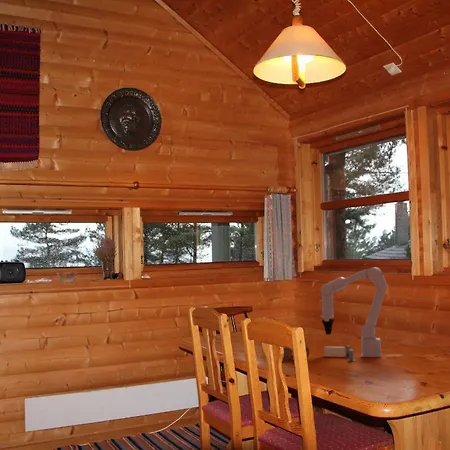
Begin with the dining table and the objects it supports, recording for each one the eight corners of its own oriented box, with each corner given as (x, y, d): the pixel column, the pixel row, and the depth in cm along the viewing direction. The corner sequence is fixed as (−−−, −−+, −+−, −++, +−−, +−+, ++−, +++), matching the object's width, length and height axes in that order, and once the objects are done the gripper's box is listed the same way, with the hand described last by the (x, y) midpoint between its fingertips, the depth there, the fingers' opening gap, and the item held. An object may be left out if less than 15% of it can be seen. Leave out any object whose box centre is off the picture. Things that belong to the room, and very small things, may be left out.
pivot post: (353, 356, 308) (352, 345, 309) (352, 357, 304) (352, 346, 304) (344, 356, 310) (343, 345, 310) (343, 357, 305) (343, 346, 306)
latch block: (355, 359, 299) (354, 349, 300) (354, 361, 294) (354, 350, 295) (348, 359, 300) (348, 349, 300) (347, 361, 295) (347, 350, 295)
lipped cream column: (344, 355, 308) (344, 346, 309) (344, 356, 306) (344, 346, 307) (324, 355, 311) (324, 345, 311) (324, 356, 309) (323, 346, 309)
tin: (278, 360, 304) (278, 342, 304) (281, 358, 307) (280, 341, 307) (308, 361, 297) (307, 344, 297) (310, 360, 300) (309, 343, 300)
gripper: (321, 305, 324) (322, 331, 324) (318, 308, 310) (319, 335, 310) (335, 305, 323) (335, 332, 322) (332, 308, 309) (333, 336, 308)
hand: (328, 333), depth 316 cm, fingers open, 3 cm apart
